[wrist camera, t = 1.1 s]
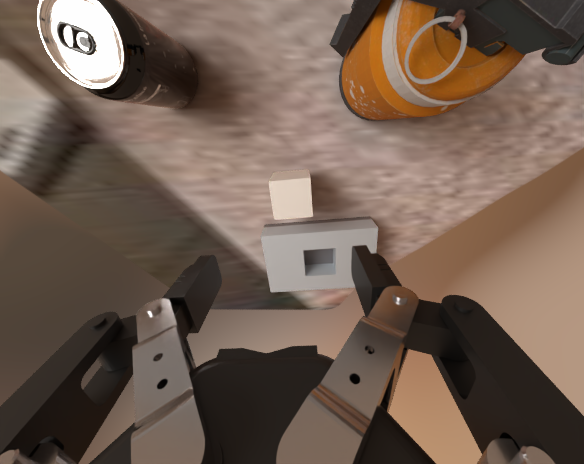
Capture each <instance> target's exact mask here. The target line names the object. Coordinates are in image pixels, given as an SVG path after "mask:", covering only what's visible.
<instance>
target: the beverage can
mask: <svg viewBox="0 0 584 464" xmlns="http://www.w3.org/2000/svg"><path fill="white" fill-rule="evenodd" d="M37 19H38V27H39V32H40V35H41V39H42V41H43V44H44V46H45V48H46V50H47V52H48V53H49V55H50V57H51V58H52V60H53V61H54V62H55V64H56V65H57V66H58V67H59V68H60V70H61V71H62V72H64V73H65V74H66V75H67V76H68V77H69V78H71V79H72V80H74V81H75V82H77V83H79V84H81V85H82V86H83V87H84V88H85V89H87V90H88V91H90V92H91V93H93V94H95V95H97V96H99V97H102V98H105V99H109V100H113V101H119V102H126V103H134V104H141V105H149V106H156V107H164V108H181V107H184V106H186V105H187V104H189V103H190V102H191V100H192V99H193V98H194V96H195V93H196V90H197V84H198V78H197V71H196V68H195V65H194V62H193V60H192V58H191V56H190V55H189V53H188V52H187V51H186V50H185V48H184V47H183V46H182V45H180V44H179V43H178V42H177V41H175V40H174V39H172V38H171V37H170V36H168V35H167V34H165V33H164V32H163V31H161V30H160V29H158V28H157V27H155V26H154V25H152V24H151V23H150V22H148V21H147V20H145V19H144V18H142V17H141V16H139V15H138V14H137V13H135V12H134V11H132V10H131V9H129V8H128V7H126V6H125V5H124V4H122V3H121V2H119V1H118V0H40V3H39V6H38V14H37Z"/></svg>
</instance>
